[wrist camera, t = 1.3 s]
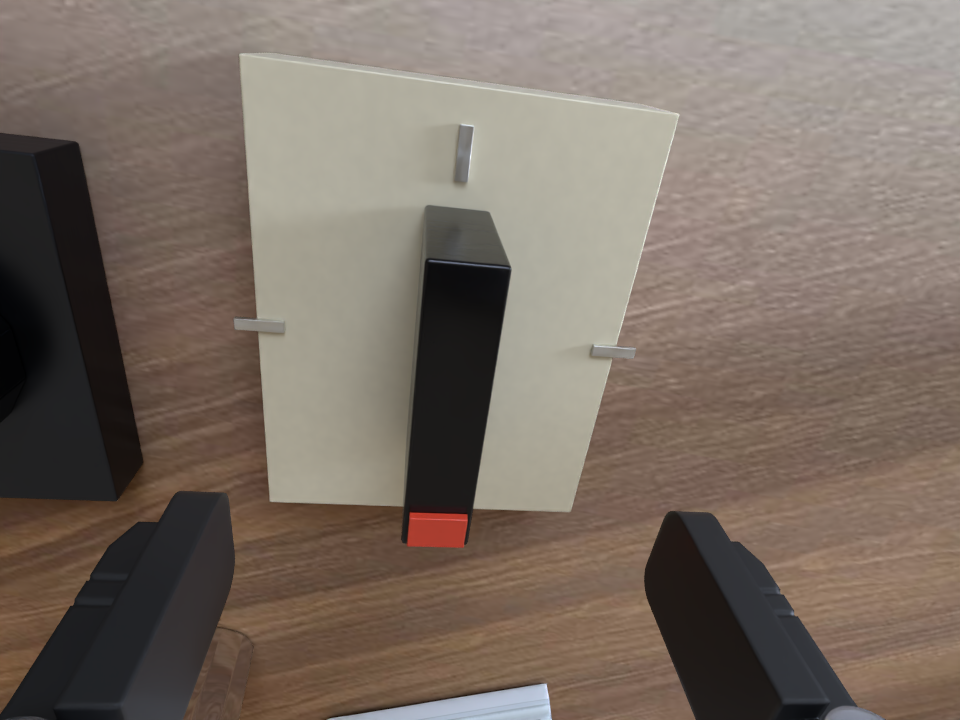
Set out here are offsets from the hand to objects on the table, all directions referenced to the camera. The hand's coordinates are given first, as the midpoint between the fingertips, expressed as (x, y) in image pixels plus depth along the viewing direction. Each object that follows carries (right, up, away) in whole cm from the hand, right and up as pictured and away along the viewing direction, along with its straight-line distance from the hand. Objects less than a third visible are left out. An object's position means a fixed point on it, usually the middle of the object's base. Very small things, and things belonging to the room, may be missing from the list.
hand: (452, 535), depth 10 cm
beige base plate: (-1, +5, +9) cm, 11 cm away
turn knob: (-1, +4, +7) cm, 8 cm away
